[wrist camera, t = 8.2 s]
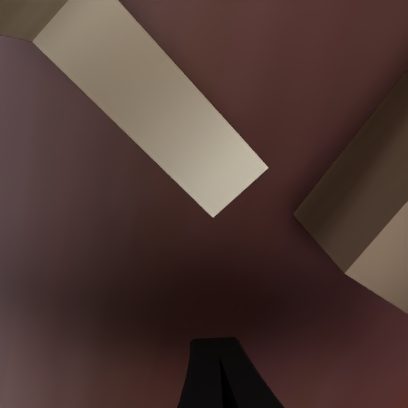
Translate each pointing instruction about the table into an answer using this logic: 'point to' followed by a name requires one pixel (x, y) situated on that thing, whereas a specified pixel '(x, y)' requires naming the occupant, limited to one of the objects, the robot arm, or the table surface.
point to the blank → (368, 202)
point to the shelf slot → (139, 92)
